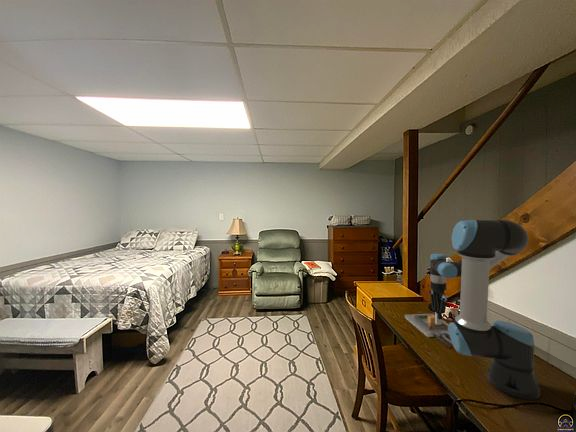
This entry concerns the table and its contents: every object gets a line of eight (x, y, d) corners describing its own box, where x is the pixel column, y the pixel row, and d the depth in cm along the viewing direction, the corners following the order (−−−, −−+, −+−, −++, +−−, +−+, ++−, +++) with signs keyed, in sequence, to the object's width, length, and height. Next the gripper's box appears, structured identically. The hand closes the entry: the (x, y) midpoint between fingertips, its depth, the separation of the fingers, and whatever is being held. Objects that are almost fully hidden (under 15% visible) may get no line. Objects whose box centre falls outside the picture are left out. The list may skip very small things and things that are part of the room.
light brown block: (441, 326, 140) (441, 317, 140) (430, 326, 140) (430, 317, 140) (437, 323, 143) (437, 315, 143) (427, 324, 143) (427, 315, 143)
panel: (460, 335, 134) (460, 329, 133) (427, 337, 133) (427, 330, 133) (432, 316, 158) (432, 311, 157) (404, 317, 157) (404, 312, 157)
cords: (464, 347, 122) (464, 345, 122) (448, 348, 122) (448, 346, 122) (448, 336, 133) (448, 334, 133) (434, 336, 133) (434, 334, 133)
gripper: (453, 285, 131) (453, 329, 132) (437, 278, 144) (437, 318, 145) (439, 285, 131) (439, 329, 131) (424, 278, 144) (424, 318, 144)
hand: (438, 323), depth 138 cm, fingers closed
